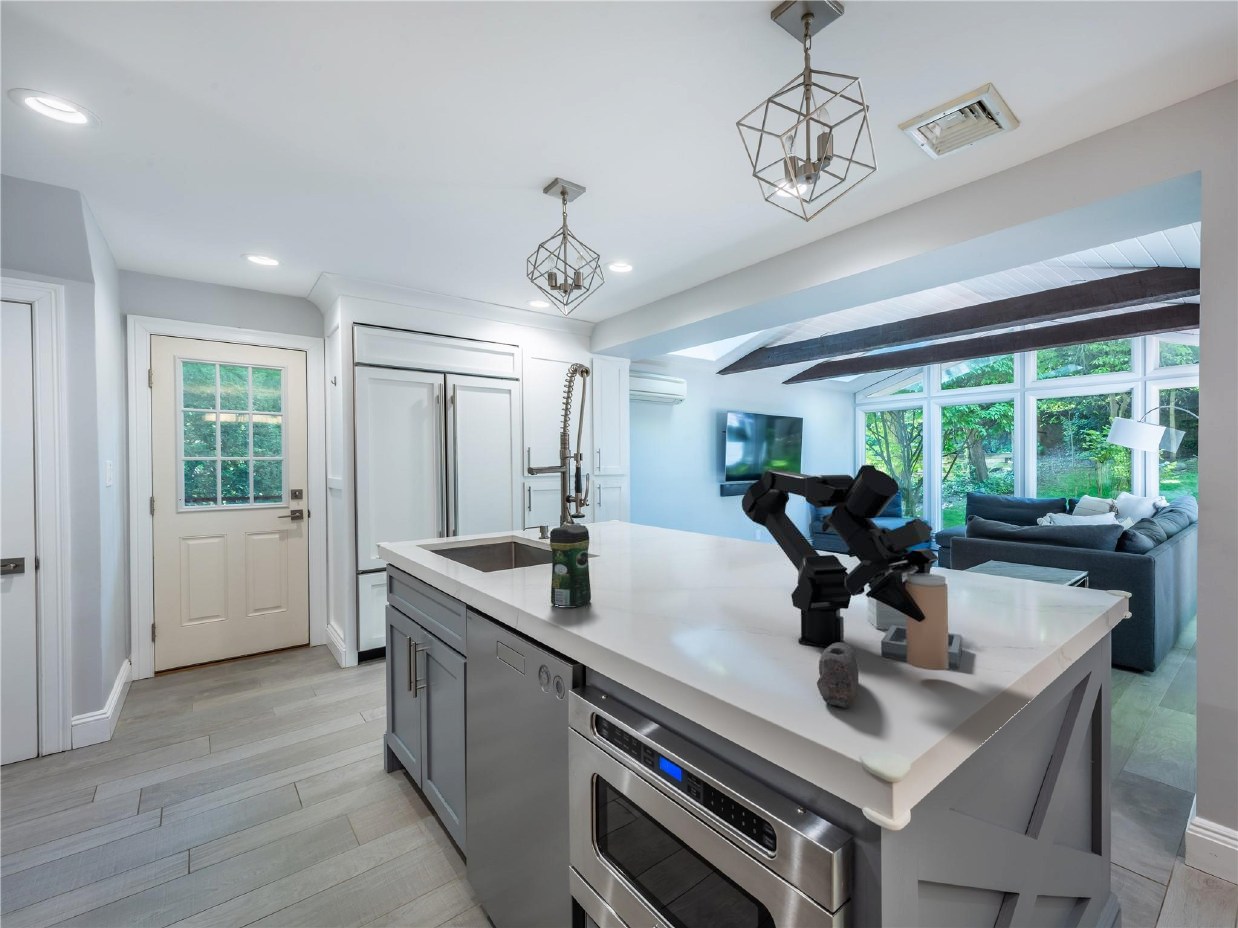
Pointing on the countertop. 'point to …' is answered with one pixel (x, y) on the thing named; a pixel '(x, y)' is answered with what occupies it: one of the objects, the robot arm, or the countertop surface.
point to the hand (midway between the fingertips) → (932, 616)
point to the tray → (896, 645)
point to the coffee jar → (570, 565)
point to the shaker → (928, 622)
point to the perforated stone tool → (838, 675)
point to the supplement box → (884, 614)
